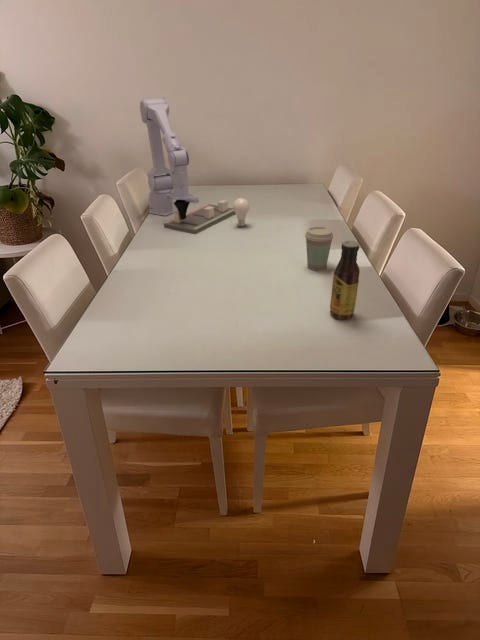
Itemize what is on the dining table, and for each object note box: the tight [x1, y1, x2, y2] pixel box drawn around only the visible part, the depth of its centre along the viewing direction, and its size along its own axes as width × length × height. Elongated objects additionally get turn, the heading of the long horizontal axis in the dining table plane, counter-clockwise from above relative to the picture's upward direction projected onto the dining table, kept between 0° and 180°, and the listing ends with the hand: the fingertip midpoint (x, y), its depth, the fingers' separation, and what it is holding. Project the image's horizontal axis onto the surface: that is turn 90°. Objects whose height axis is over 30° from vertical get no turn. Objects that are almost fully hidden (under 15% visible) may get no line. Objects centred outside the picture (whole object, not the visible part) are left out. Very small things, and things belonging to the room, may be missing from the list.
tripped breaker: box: [172, 210, 185, 223], centre depth 181 cm, size 2×4×4 cm
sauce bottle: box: [329, 240, 361, 320], centre depth 115 cm, size 6×6×20 cm
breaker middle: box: [204, 206, 214, 219], centre depth 185 cm, size 2×4×4 cm
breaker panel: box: [163, 203, 236, 235], centre depth 188 cm, size 15×30×2 cm, turn 148°
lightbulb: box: [232, 197, 250, 228], centre depth 178 cm, size 6×6×11 cm
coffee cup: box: [304, 226, 334, 272], centre depth 144 cm, size 8×8×12 cm
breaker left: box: [217, 199, 229, 212], centre depth 193 cm, size 2×4×4 cm
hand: (183, 219), depth 181 cm, fingers closed
